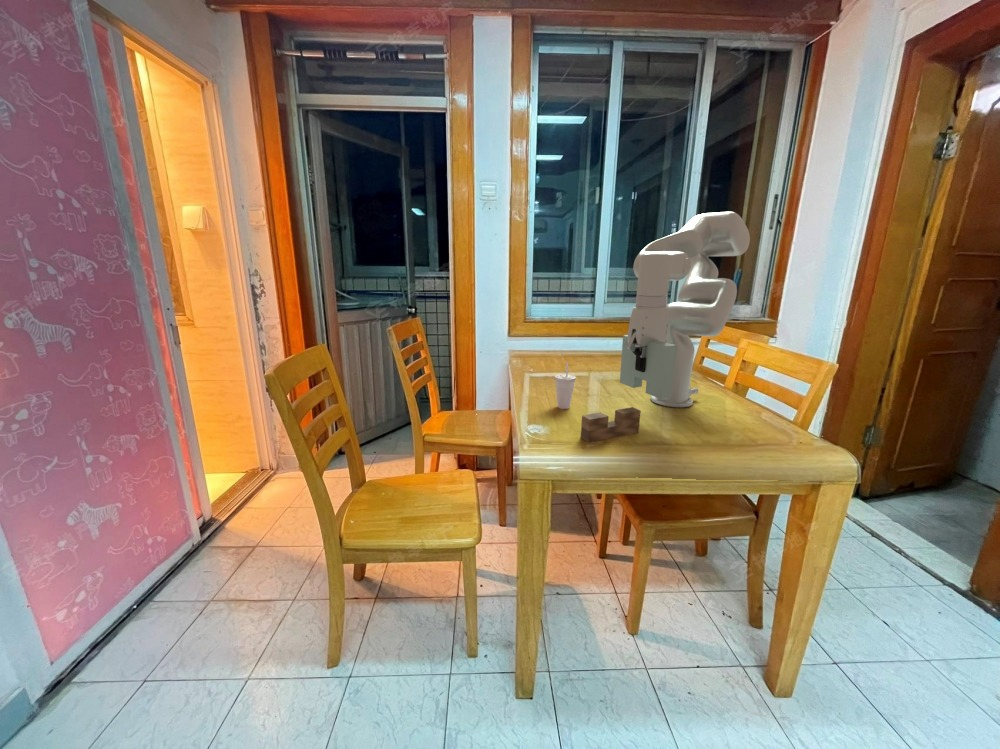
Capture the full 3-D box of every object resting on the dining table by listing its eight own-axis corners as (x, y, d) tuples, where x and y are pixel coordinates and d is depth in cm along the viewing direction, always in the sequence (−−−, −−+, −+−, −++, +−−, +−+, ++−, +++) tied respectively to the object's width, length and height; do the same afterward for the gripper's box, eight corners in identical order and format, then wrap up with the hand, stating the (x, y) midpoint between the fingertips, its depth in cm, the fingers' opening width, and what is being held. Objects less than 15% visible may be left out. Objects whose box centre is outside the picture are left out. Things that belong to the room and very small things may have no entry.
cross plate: (619, 382, 118) (623, 335, 114) (627, 381, 119) (631, 334, 115) (661, 399, 104) (667, 346, 100) (670, 397, 105) (675, 344, 101)
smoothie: (563, 411, 119) (566, 366, 115) (548, 406, 124) (550, 361, 120) (578, 407, 123) (581, 363, 119) (563, 402, 128) (566, 359, 124)
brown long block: (630, 428, 107) (632, 407, 106) (638, 432, 105) (640, 410, 103) (580, 437, 101) (582, 415, 99) (587, 442, 98) (589, 419, 97)
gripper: (663, 298, 111) (657, 363, 116) (616, 302, 105) (612, 370, 110) (686, 301, 104) (678, 369, 110) (637, 305, 98) (631, 377, 103)
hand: (645, 369), depth 110 cm, fingers closed on cross plate, 3 cm apart
